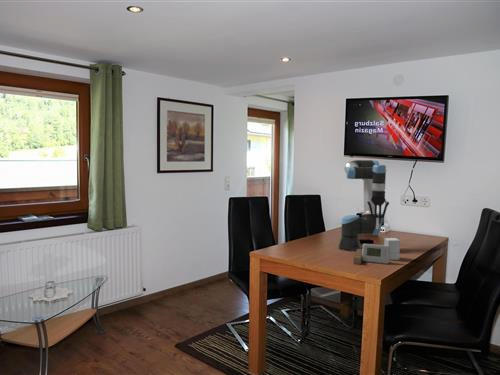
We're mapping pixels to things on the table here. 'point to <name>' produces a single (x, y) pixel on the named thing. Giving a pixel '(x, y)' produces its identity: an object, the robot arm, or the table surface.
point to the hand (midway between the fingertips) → (377, 228)
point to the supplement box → (393, 248)
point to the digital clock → (375, 253)
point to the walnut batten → (358, 257)
